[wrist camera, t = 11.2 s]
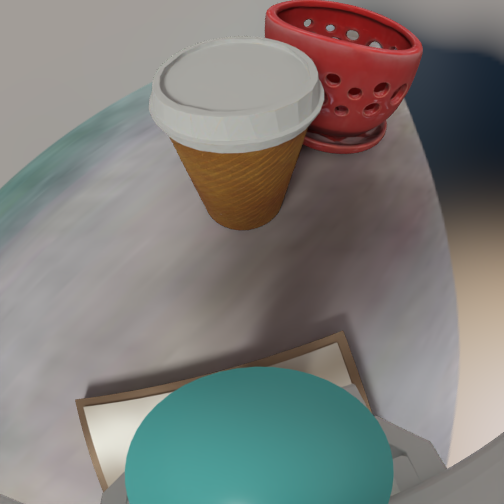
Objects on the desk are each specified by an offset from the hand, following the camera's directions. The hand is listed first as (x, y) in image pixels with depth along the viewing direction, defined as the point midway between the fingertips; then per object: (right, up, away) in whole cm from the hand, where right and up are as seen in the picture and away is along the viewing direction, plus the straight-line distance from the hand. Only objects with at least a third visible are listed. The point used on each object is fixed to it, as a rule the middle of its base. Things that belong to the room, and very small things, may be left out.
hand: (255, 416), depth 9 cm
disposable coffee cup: (-1, +10, +15) cm, 18 cm away
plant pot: (+8, +19, +19) cm, 28 cm away
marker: (0, -4, +6) cm, 7 cm away
